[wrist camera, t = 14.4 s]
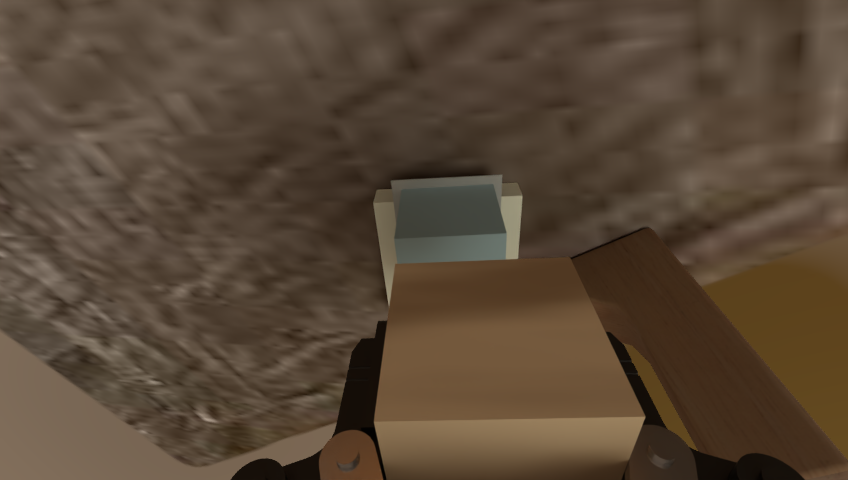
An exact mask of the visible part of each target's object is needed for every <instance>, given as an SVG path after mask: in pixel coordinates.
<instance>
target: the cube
mask: <svg viewBox="0 0 848 480" xmlns="http://www.w3.org/2000/svg"><path fill="white" fill-rule="evenodd" d="M506 241H507V232H506V229H505V225H504V221H503V218H502V214H501V210H500V207H499V203H498V200H497V196H496V192H495V189H494V185H493V184H486V185H468V186H451V187H433V188H416V189H402V190H401V196H400V203H399V210H398V216H397V223H396V230H395V236H394V242H395V250H396V257H397V264H403V263H429V262H454V261H480V260H506Z"/></svg>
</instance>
